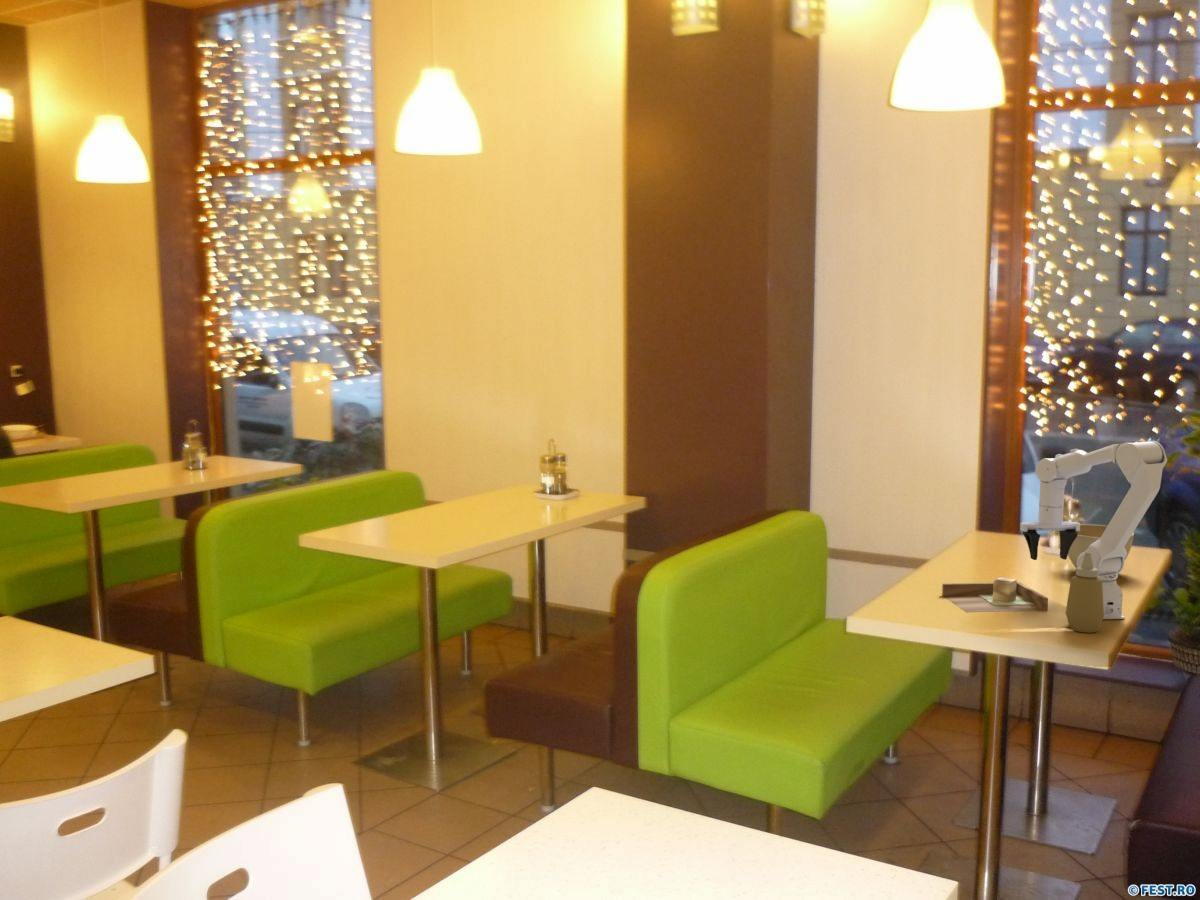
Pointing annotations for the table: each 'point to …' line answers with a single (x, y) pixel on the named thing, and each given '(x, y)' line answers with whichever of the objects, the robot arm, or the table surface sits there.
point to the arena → (981, 598)
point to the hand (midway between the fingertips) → (1048, 558)
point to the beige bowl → (1090, 541)
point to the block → (1004, 589)
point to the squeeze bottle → (1085, 598)
